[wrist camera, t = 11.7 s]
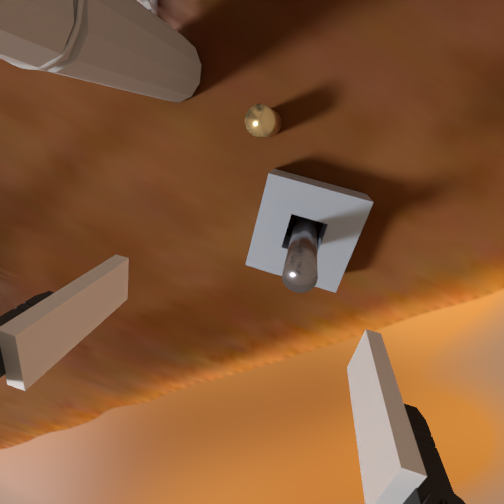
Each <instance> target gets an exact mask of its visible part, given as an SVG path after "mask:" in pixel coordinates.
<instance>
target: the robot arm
mask: <svg viewBox="0 0 504 504" xmlns="http://www.w3.org/2000/svg"><path fill="white" fill-rule="evenodd" d="M128 263H129V258H126V257H122V256H119V255H114V256H113V257H111V258H110V259H108V260H106V261H105V262H103V263H102V264H100V265H98V266H97V267H95V268H94V269H92V270H90V271H89V272H87V273H86V274H84V275H82V276H81V277H79V278H78V279H76V280H74V281H73V282H71V283H69V284H68V285H66V286H65V287H63V288H61V289H60V290H58V291H57V292H55V293H54V292H51V291H48V292H45V293H42V294H39V295H36V296H34V297H32V298H31V299H29V300H27V301H26V302H24V304H21V305H19V306H17V307H16V308H15V309H12V310H10V311H9V312H7V313H5V314H4V315H2V316H0V377H2V376H3V375H4V374H5V375H6V380H7V385H10V386H13V387H15V388H18V389H21V390H24V391H25V390H27V389H28V388H29V387H30V386H31V385H32V384H33V383H34V382H36V381H37V380H38V379H39V378H40V377H41V376H42V375H43V374H44V373H46V372H47V371H48V370H49V369H50V368H51V367H52V366H53V365H54V364H56V363H57V362H58V361H59V360H60V359H61V358H62V357H63V356H64V355H66V354H67V353H68V352H69V351H70V350H71V349H72V348H73V347H75V346H76V345H77V344H78V343H79V342H80V341H81V340H82V339H83V338H85V337H86V336H87V335H88V334H89V333H90V332H91V331H92V330H93V329H95V328H96V327H97V326H98V325H99V324H100V323H101V322H102V321H103V320H105V319H106V318H107V317H108V316H109V315H110V314H111V313H112V312H114V311H115V310H116V309H117V308H118V307H119V306H120V305H121V304H122V303H124V302H125V301H126V300H127V293H128ZM347 372H348V380H349V387H350V394H351V402H352V409H353V416H354V424H355V432H356V439H357V447H358V453H359V461H360V469H361V476H362V483H363V490H364V498H365V504H465V503H464V501H463V500H462V499H461V498H459V497H458V496H457V495H456V494H454V492H453V490H452V487H451V485H450V482H449V479H448V477H447V474H446V472H445V469H444V466H443V464H442V461H441V458H440V456H439V453H438V451H437V449H436V448H435V443H434V440H433V438H432V437H431V433H430V430H429V427H428V425H427V422H426V420H425V419H424V417H423V416H422V415H421V413H420V412H419V411H418V409H417V408H416V407H413V406H410V405H406V404H404V403H403V401H402V397H401V394H400V391H399V388H398V385H397V382H396V379H395V376H394V373H393V370H392V366H391V364H390V360H389V357H388V354H387V351H386V348H385V345H384V342H383V339H382V335H381V334H380V333H377V332H374V331H370V330H367V329H366V330H365V332H364V334H363V336H362V338H361V340H360V342H359V344H358V346H357V349H356V350H355V352H354V355H353V357H352V359H351V361H350V363H349V365H348V367H347Z"/></svg>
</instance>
